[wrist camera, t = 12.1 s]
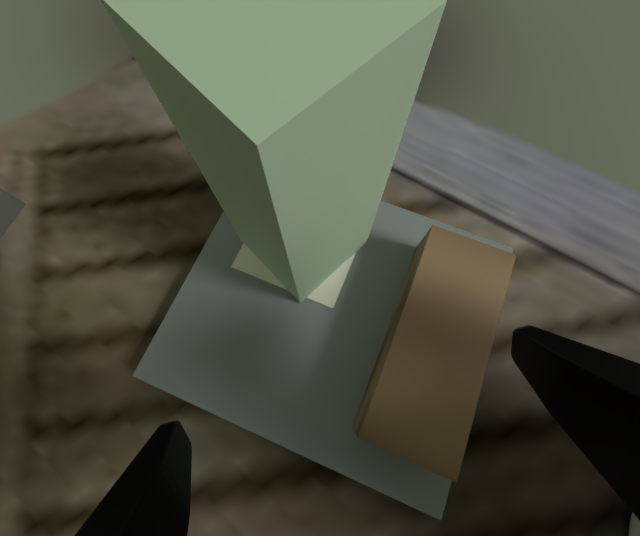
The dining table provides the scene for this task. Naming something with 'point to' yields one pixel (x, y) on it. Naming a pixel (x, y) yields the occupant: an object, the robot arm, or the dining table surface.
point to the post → (287, 112)
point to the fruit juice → (634, 526)
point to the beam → (436, 352)
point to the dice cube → (8, 210)
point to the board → (296, 350)
